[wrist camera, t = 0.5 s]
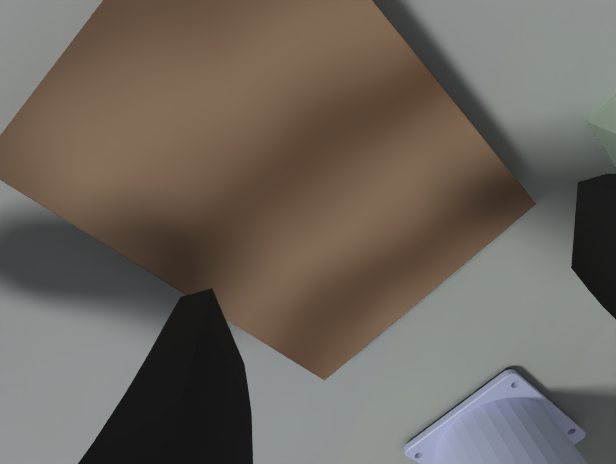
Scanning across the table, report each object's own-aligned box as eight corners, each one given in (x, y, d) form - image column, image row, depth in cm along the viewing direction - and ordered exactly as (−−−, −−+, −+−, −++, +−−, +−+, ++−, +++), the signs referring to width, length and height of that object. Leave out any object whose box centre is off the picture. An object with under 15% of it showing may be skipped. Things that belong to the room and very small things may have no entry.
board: (516, 188, 21) (536, 203, 19) (318, 357, 23) (324, 380, 22) (231, -159, 13) (234, -172, 12) (-5, 149, 16) (-23, 165, 15)
